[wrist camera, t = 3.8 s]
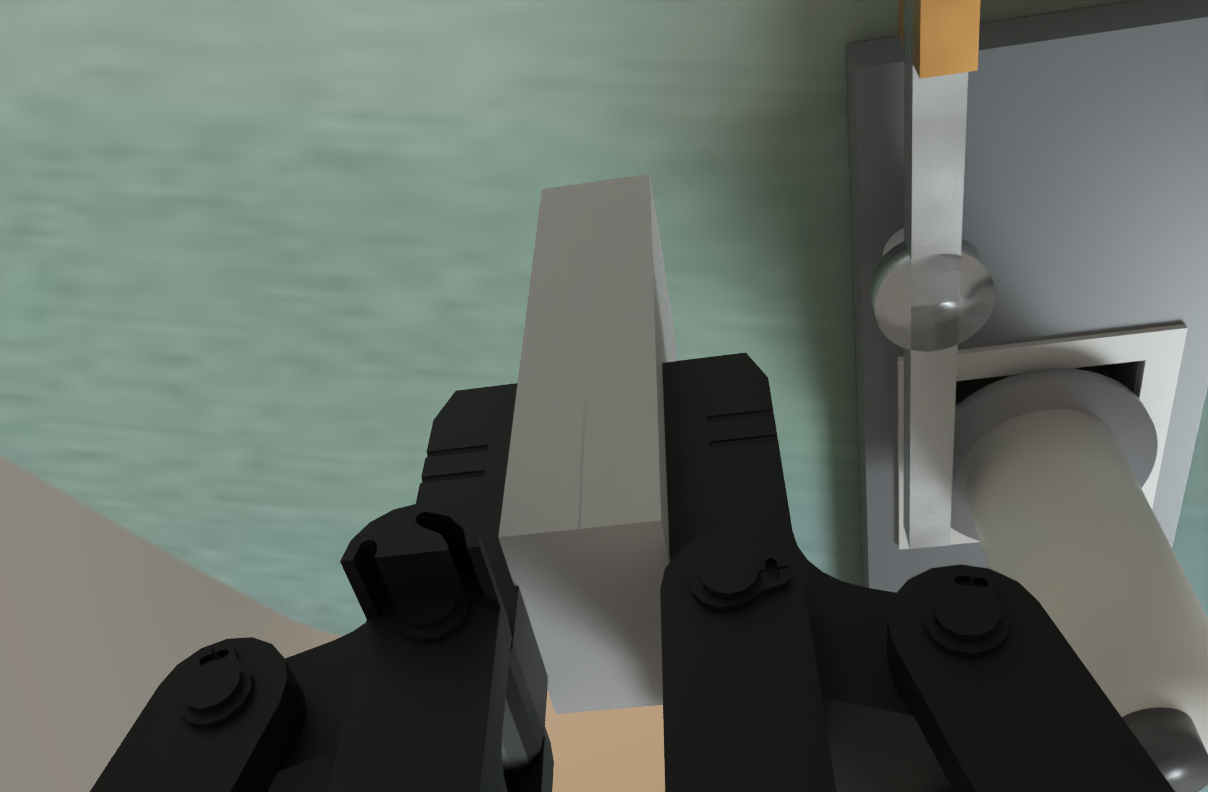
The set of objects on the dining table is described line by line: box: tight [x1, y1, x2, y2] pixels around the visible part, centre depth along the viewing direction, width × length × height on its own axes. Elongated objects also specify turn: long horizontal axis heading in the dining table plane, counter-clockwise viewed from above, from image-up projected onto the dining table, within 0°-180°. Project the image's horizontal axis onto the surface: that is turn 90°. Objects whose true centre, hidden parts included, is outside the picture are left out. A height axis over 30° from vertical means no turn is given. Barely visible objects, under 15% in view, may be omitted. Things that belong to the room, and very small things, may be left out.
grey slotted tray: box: [846, 0, 1208, 593], centre depth 34 cm, size 10×26×3 cm, turn 10°
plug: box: [950, 368, 1208, 792], centre depth 30 cm, size 7×7×13 cm
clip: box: [869, 0, 996, 549], centre depth 28 cm, size 3×20×3 cm, turn 10°
